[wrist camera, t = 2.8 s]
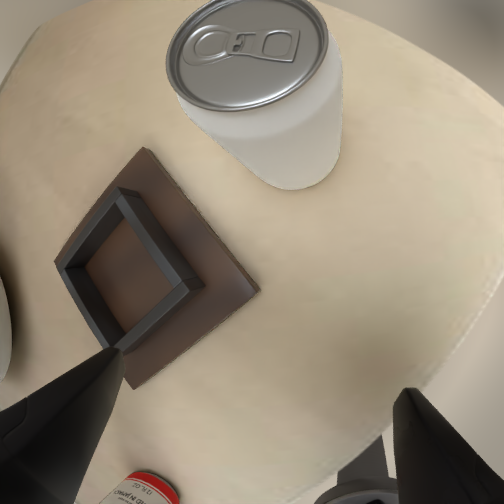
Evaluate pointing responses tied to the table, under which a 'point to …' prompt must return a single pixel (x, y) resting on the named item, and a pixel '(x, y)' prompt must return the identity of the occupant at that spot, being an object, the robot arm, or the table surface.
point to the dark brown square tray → (150, 270)
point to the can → (263, 86)
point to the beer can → (142, 491)
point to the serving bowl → (4, 333)
